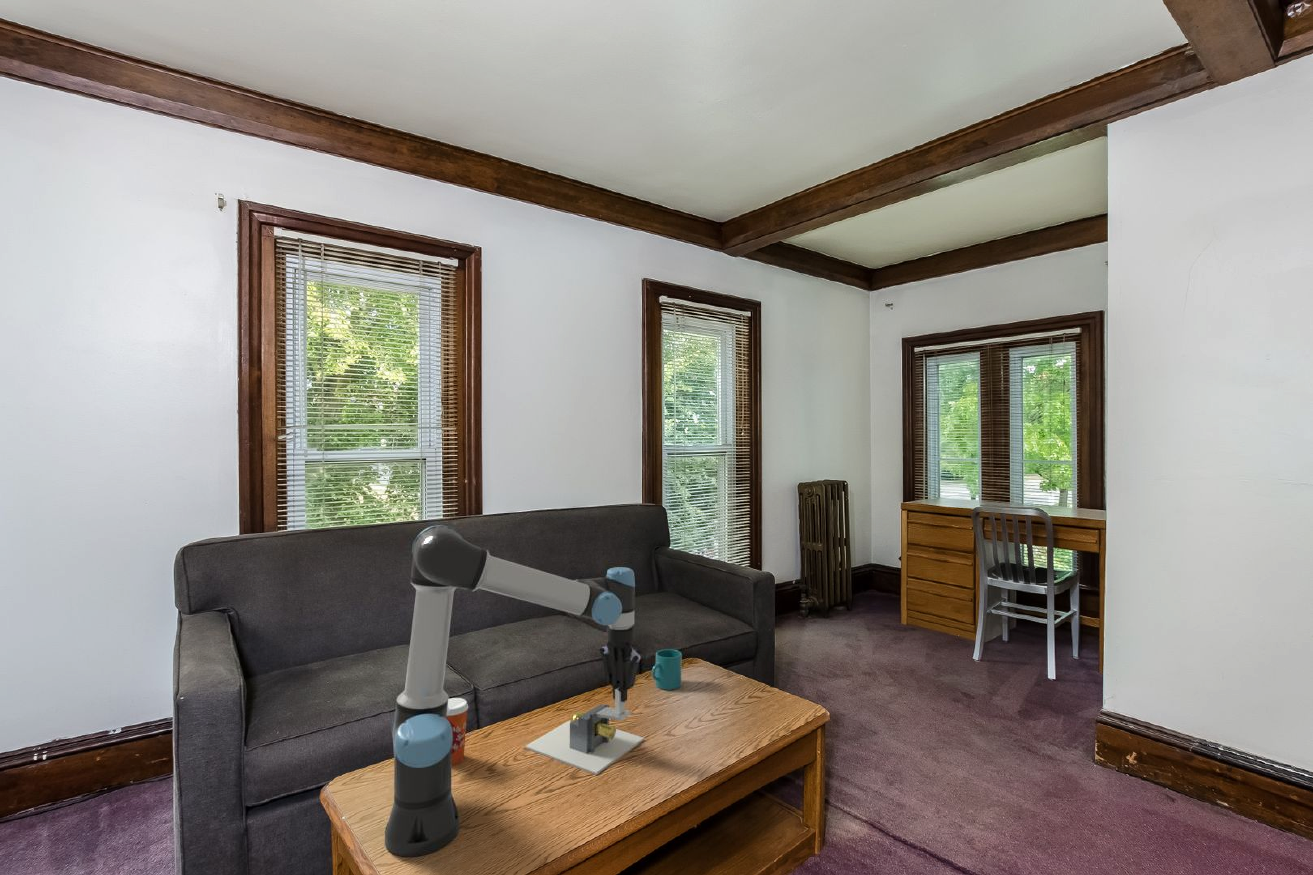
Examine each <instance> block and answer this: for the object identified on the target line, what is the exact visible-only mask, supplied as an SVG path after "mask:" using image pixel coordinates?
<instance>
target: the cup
mask: <svg viewBox="0 0 1313 875" xmlns="http://www.w3.org/2000/svg"><path fill="white" fill-rule="evenodd" d="M682 657H683V656H682V652H681V651H679V650H676V649H669V648H668V649H667V648H665V649H661V650H658V651H657V652H655V664H654V665H653V666H652V669H651V678H652V679H653V680H654V681H655V685H656V687H657V688H659V689H660V690H664V689H667V690H666V691H671V690H670V689H674V690H677V689H680V687H681V686H682V660H683V658H682Z"/></svg>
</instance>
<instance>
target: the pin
mask: <svg viewBox="0 0 1313 875" xmlns="http://www.w3.org/2000/svg"><path fill="white" fill-rule="evenodd" d="M585 713H586V712H582V711H578V710H577V711H575V712H574V713H573V714H572V715H571V718H570V720H571V721H570V723H571V722H573V721H575V720H576V719H578V717H580V716H581V715H583V714H585ZM616 729H617V728H616V727H614V726H612V725H610V724H609V725H606V724H603V723H600V722H597V723H595V734H598V735H601V736H604V737H607V738H610V739H613V738H614V736H615V734H616Z"/></svg>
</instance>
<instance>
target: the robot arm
mask: <svg viewBox="0 0 1313 875" xmlns="http://www.w3.org/2000/svg"><path fill="white" fill-rule="evenodd" d="M411 555H412V558H413V559H412V565H411V574H410V584H411V585H412V586H413V588H415V599H414V607H413V616H412V624H411V634H410V643H409V650H408V652H409V653H408V659H407V667H406V675H405V676H406V678H405V684H404V686H405V687H404V690H403V691H402V692H401V693H400V694H399V695H398V696H397V697H396V702H395V703H396V704H395V713H394V715H393V719H392V720H391V736H392V745H393V748H392V749H393V761H394V764H393V767H394V769H393V770H394V774H393V775H394V777H393V778H394V780H393V781H394V782H393V786H394V788H393V789H394V790H393V805H392V808H391V812H390V814H389V818H388V822H387V824H386V827H385V829H384V845H385V848H386V849H387V850H388V851H389V852H390V853H391V854H393V855H397V856H402V857H418V856H423V855H427V854H431V853H433V852H436V851H438V850H440V849H442V848H444V847H445V846H447V845H448V844H449V843H451V842H452V841H453V840H454V839H455V837H456V836H457V835H458V833H459V830H460V814H459V810H458V808H457V805H456V802H455V800H454V796H453V792H452V768H453V765H452V741H453V734H452V729H451V725H450V723H449V721H448V720H447V719H446V717H447V707H448V699H450V698H449V695H448V693H447V692H446V691H445V690H444V682H445V673H446V672H445V671H446V664H447V656H448V647H449V639H450V629H451V622H452V621H451V619H452V612H453V604H454V603H453V602H454V593H455V590H456V589H462V590H466V591H469V592H475V591H477V590H484V591H488V592H491V593H495V594H499V595H503V596H505V597H506V596H507V597H509V598H514V599H516V600H521V601H525V602H528V603H532V604H536V605H540V606H543V607H547V608H551V609H555V610H557V611H563V612H566V613H568V614H573V615H576V616H579V617H582V618H587V619H590V620H593V621H594V622H595V623H596V624H598V625H602V626H607V627H606V640H607V642H606V645H605V646H602V647H600V648H599V649H598V650H599V653H600V655H601V658H602V663H603V669H604V674H605V680H606V681H605V682H606V684H607V685H608V686H611V688H612V699H613V700H614V708H615V714H618V715H620V714H621V713H623V712H624V711H625V710H626V701H627V700H628V691H629V690H630V689H632V688H633V687H634V686H635V682H636V677H637V673H638V668H639V663H640V662H641V659H642V658H643V654H642V653H638V652H637V651H636V650H635V649H636V647H635V646H634V641H635V626H634V625H635V596H636V595H635V594H636V591H635V589H636V588H635V587H636V582H635V580H636V579H635V572H634V570H633V569H631V568H629V567H623V566H617V567H616V566H615V567H612V568H609V569H607V571H606V575H605V576H603V577H596V578H595V577H593V578H584V579H582V578H581V579H578V578H577V579H575V580H574V579H570V578H569V579H568V578H567V577H563V576H559V575H557V574H553V573H550V572H549V573H548V572H545V571H542V570H540V569H536V568H532V567H529V566H526V565H522V564H519V563H516V562H512V561H510V560H509V561H508V560H506V559H501V558H499V557H497V556H496V557H495V556H492V555H490V551H489V550H488V549H485V548H483V547H479V546H477V545H474V544H473V543H470V542H468V541H467V540H465V539H464V538H463V536H462V535H461V534H460V533H459V531H457V530H456V529H455V528H453V527H450V526H446V525H443V524H441V525H438V524H437V525H432V526H428V527H426V528H425V529H424V530H422V531H421V532H419V534H418V535H417V537H416V538H415V539H414V541H413V543H412V549H411Z"/></svg>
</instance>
